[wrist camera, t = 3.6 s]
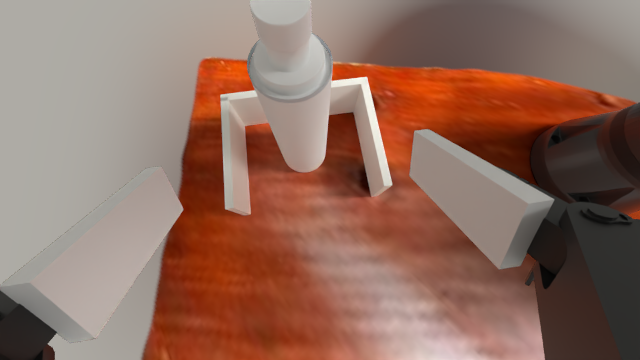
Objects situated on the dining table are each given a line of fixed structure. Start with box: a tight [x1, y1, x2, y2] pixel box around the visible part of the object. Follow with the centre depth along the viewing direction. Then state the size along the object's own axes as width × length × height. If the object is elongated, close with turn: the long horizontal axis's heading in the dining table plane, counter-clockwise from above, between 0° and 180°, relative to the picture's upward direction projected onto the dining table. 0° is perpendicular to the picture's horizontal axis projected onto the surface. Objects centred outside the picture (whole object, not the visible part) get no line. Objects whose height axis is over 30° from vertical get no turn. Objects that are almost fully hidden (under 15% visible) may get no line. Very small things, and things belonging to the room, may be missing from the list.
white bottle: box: [247, 0, 333, 172], centre depth 24 cm, size 7×7×25 cm
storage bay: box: [220, 77, 392, 215], centre depth 32 cm, size 20×16×7 cm
